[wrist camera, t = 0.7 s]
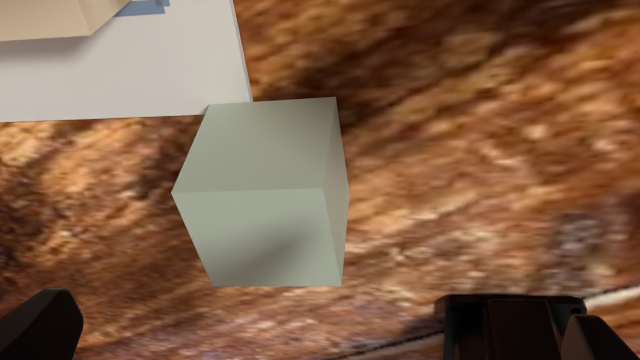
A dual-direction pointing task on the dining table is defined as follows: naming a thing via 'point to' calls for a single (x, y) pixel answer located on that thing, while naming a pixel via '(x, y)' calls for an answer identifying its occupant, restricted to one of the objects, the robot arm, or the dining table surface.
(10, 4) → the maple base block
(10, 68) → the white base plate
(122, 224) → the dining table surface
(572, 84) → the dining table surface
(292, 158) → the sage cube
